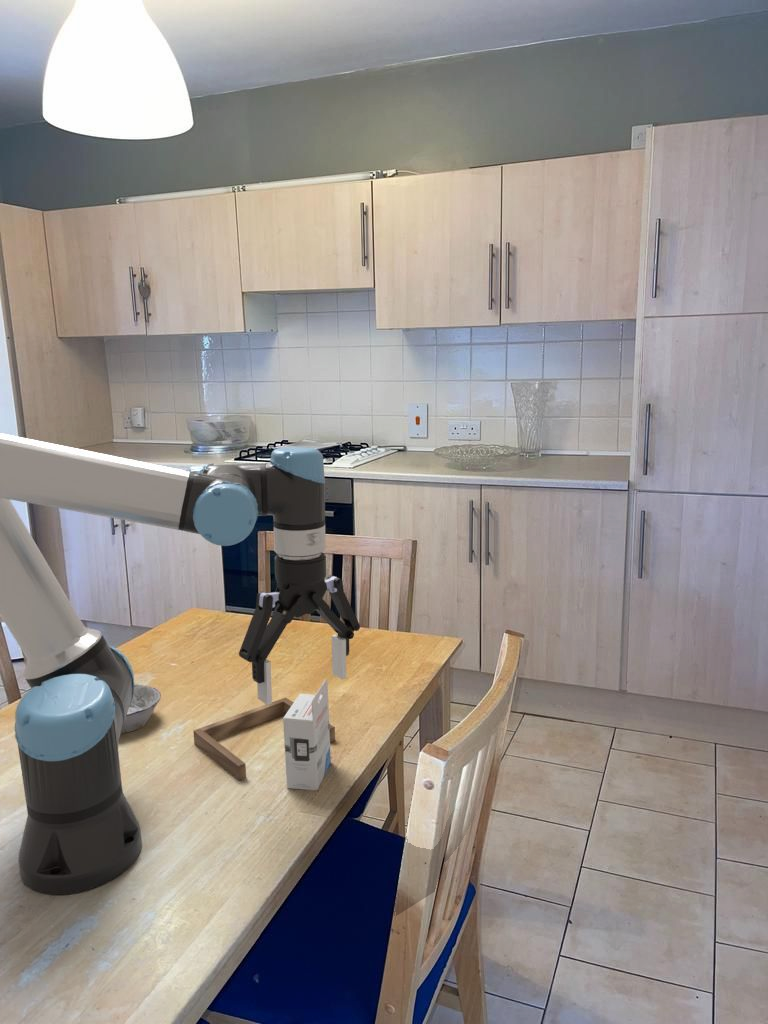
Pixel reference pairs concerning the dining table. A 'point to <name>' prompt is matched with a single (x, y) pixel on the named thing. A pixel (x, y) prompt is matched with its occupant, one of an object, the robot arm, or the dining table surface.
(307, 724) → the ink box
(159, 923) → the dining table surface
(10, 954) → the dining table surface
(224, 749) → the wooden u-shaped frame
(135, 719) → the bowl
